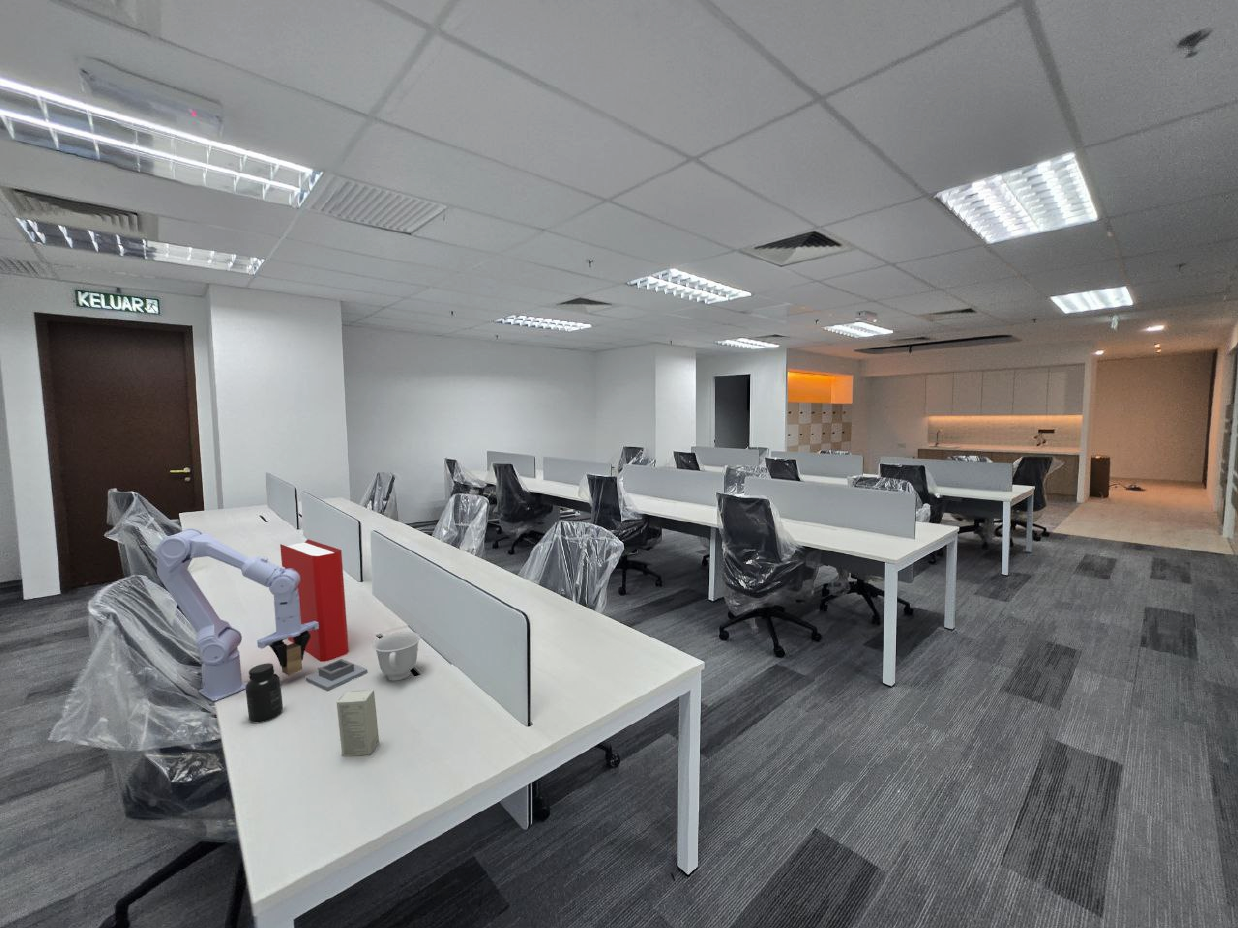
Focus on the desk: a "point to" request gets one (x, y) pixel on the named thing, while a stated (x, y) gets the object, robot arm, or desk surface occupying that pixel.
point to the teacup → (397, 654)
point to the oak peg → (293, 659)
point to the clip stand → (335, 674)
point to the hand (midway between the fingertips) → (291, 663)
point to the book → (320, 596)
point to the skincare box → (357, 722)
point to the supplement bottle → (263, 693)
